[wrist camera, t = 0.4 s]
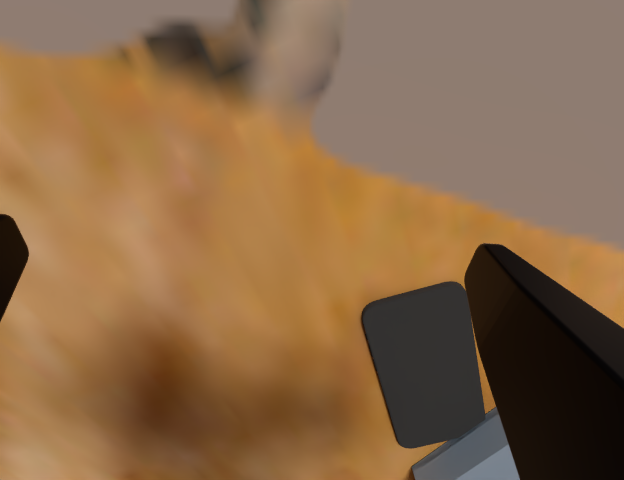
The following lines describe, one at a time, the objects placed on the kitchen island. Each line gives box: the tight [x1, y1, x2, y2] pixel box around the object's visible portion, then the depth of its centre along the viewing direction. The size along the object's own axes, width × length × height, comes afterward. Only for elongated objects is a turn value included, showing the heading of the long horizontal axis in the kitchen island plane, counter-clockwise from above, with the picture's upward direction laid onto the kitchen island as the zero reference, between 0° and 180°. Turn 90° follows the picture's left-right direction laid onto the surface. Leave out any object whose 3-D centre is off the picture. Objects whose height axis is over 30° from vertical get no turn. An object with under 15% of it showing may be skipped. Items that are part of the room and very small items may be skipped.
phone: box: [362, 282, 486, 448], centre depth 29 cm, size 7×1×15 cm
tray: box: [412, 407, 520, 480], centre depth 32 cm, size 16×16×3 cm
